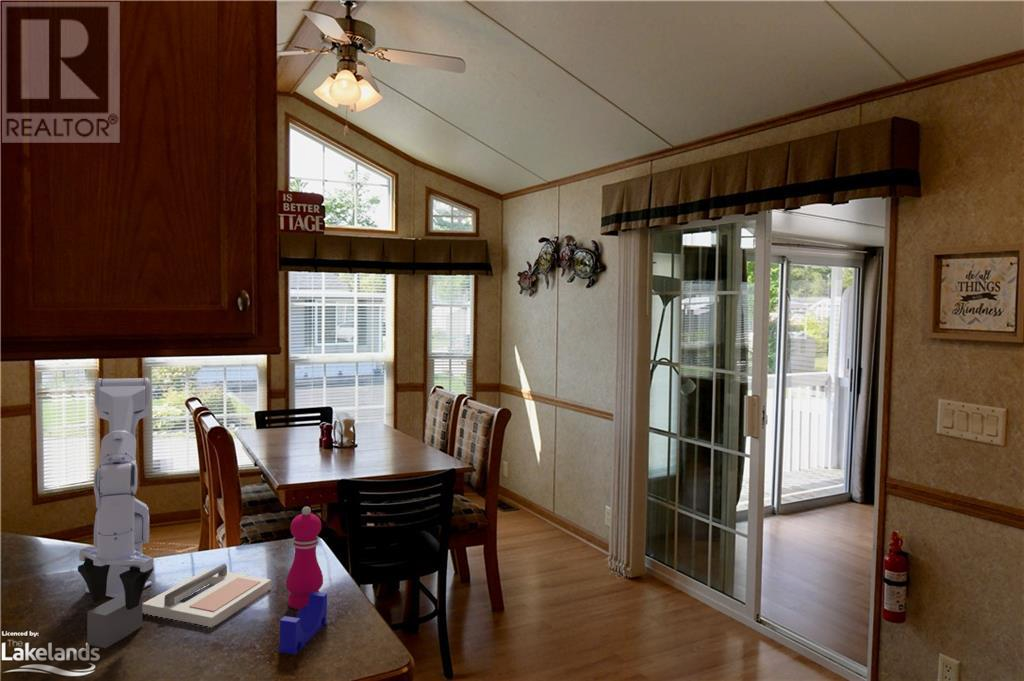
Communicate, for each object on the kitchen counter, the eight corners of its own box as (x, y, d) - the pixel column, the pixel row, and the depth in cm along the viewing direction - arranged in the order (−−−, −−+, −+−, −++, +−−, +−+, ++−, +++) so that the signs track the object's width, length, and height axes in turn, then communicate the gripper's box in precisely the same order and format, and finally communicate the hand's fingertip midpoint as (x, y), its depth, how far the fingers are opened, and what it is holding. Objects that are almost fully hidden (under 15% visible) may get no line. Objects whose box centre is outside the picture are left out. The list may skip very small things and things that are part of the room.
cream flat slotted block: (142, 613, 129) (142, 592, 129) (207, 577, 147) (208, 558, 146) (211, 628, 125) (211, 606, 125) (271, 588, 142) (271, 569, 142)
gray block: (87, 644, 118) (87, 611, 118) (124, 623, 126) (125, 592, 125) (105, 648, 117) (105, 615, 116) (142, 627, 125) (142, 596, 124)
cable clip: (304, 620, 130) (305, 590, 130) (326, 623, 129) (327, 593, 129) (271, 651, 118) (272, 619, 118) (295, 655, 117) (295, 622, 117)
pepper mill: (307, 591, 142) (309, 499, 141) (330, 601, 138) (332, 506, 136) (278, 603, 136) (280, 506, 135) (300, 614, 132) (302, 515, 131)
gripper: (63, 531, 118) (63, 606, 119) (130, 543, 114) (130, 620, 115) (98, 519, 125) (98, 590, 126) (162, 529, 121) (161, 603, 122)
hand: (115, 603), depth 121 cm, fingers open, 7 cm apart
